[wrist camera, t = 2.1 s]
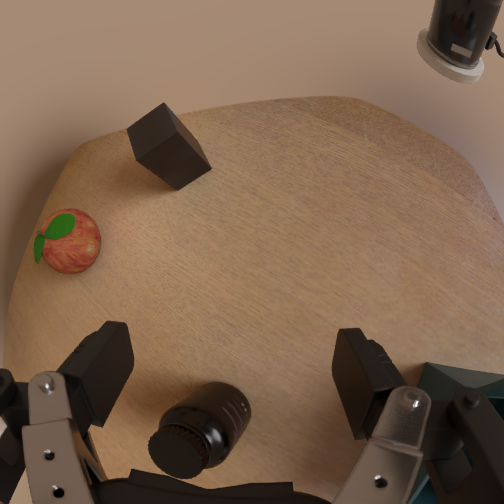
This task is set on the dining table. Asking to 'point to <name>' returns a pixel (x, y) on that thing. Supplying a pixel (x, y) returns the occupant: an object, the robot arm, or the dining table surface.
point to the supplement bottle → (200, 430)
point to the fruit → (68, 241)
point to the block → (167, 148)
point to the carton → (443, 388)
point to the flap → (493, 389)
